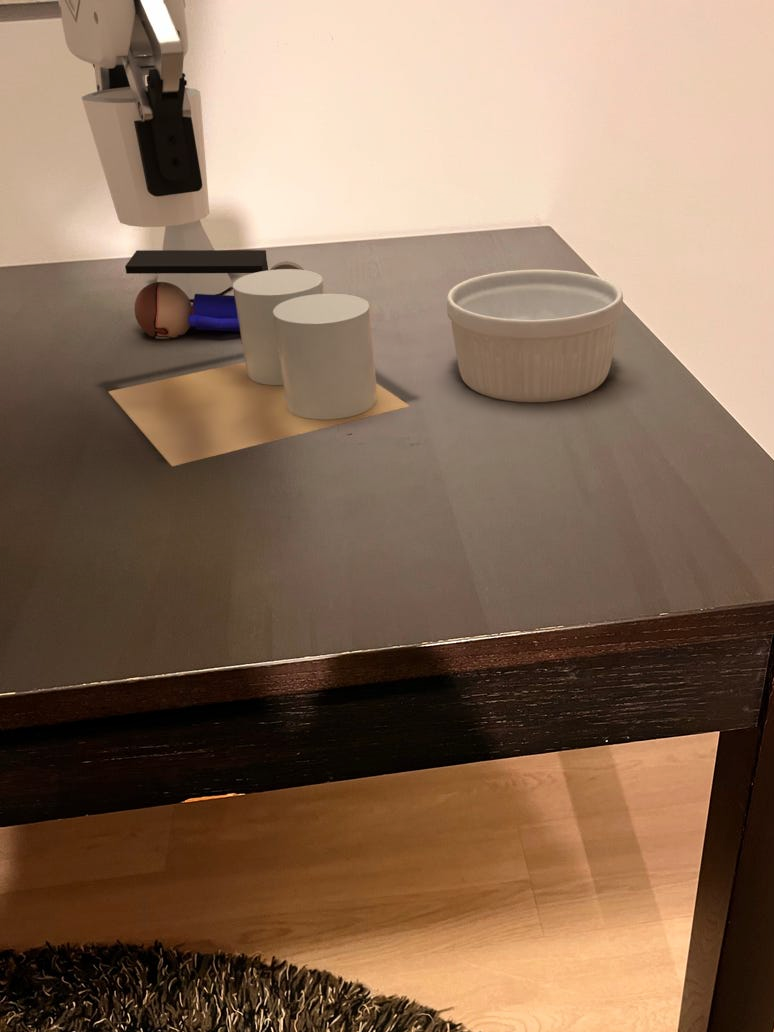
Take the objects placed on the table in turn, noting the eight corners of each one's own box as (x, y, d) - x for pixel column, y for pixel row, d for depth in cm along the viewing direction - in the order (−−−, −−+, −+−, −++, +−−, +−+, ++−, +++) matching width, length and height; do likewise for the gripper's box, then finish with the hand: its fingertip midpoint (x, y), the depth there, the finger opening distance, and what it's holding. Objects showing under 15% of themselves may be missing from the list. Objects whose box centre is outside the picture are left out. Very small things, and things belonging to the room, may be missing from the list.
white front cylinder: (308, 427, 72) (295, 329, 68) (272, 397, 76) (258, 304, 72) (393, 406, 74) (386, 311, 70) (353, 378, 79) (344, 287, 75)
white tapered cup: (192, 231, 61) (170, 100, 57) (87, 228, 62) (58, 99, 58) (235, 205, 66) (217, 84, 62) (138, 202, 67) (114, 83, 63)
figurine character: (309, 332, 95) (142, 325, 92) (309, 248, 90) (134, 238, 88) (309, 357, 89) (132, 350, 87) (309, 269, 85) (122, 259, 82)
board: (173, 474, 67) (171, 466, 67) (109, 398, 79) (107, 391, 78) (410, 413, 75) (410, 405, 74) (321, 352, 86) (320, 345, 86)
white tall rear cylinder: (266, 392, 77) (252, 300, 73) (234, 366, 82) (219, 278, 78) (346, 374, 80) (337, 284, 76) (311, 349, 85) (301, 264, 81)
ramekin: (436, 360, 84) (432, 274, 80) (589, 346, 86) (593, 261, 82) (468, 423, 73) (465, 327, 69) (641, 404, 75) (648, 311, 71)
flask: (143, 294, 101) (120, 187, 95) (197, 276, 106) (179, 173, 100) (192, 306, 98) (172, 195, 92) (246, 287, 102) (230, 180, 97)
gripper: (-17, -175, 57) (63, 167, 68) (50, -205, 45) (136, 217, 55) (115, -172, 60) (173, 154, 71) (212, -200, 48) (265, 199, 58)
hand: (156, 179), depth 63 cm, fingers closed on white tapered cup, 6 cm apart
